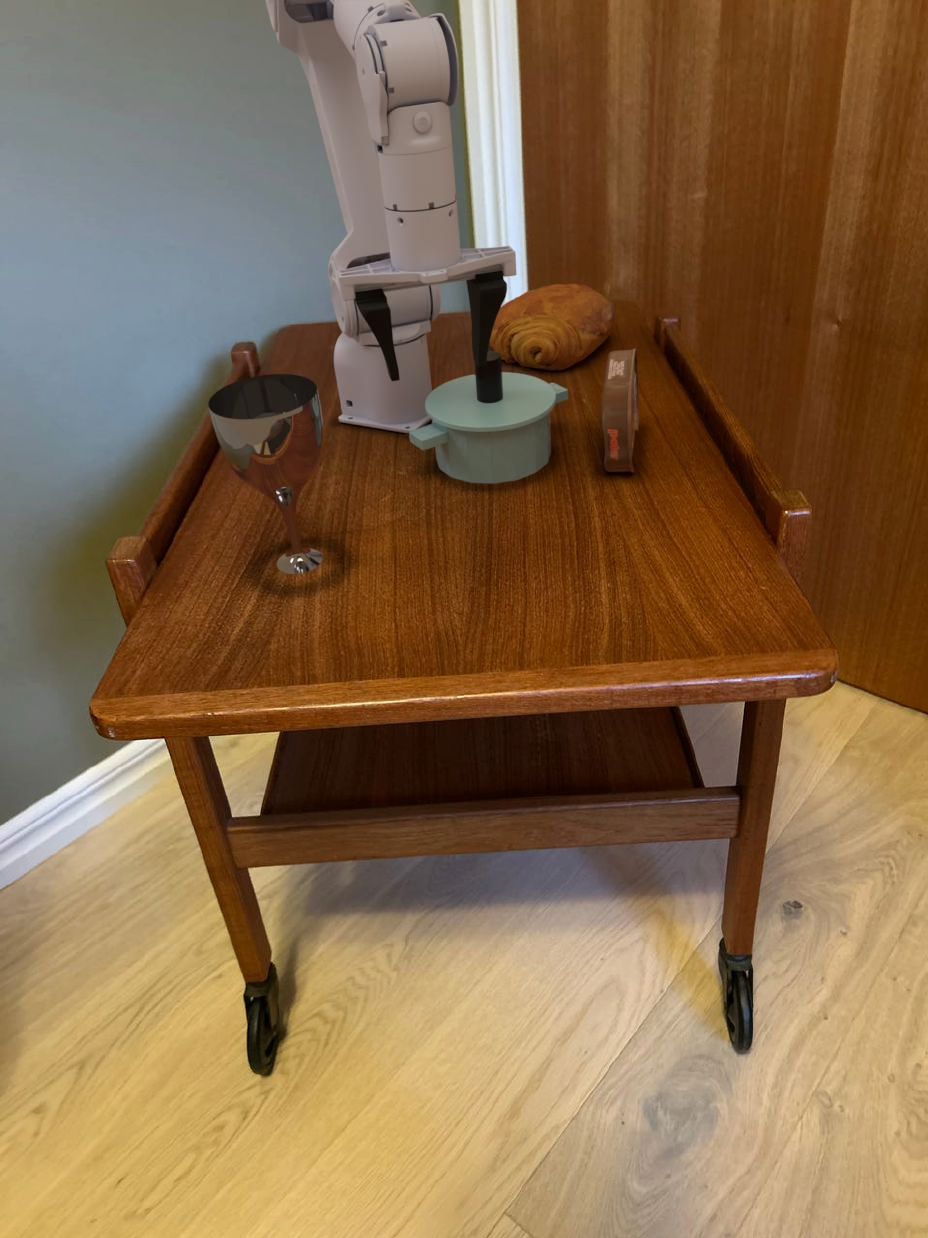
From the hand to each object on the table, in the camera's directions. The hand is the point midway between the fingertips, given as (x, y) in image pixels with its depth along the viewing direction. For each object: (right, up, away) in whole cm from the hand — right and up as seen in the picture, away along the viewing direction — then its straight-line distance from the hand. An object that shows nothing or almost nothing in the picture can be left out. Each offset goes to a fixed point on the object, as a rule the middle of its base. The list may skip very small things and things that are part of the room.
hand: (437, 369), depth 79 cm
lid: (+5, -2, +4) cm, 7 cm away
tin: (+17, -6, +8) cm, 20 cm away
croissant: (+13, +11, +30) cm, 34 cm away
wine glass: (-11, -18, -4) cm, 21 cm away
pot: (+5, -7, +8) cm, 12 cm away
